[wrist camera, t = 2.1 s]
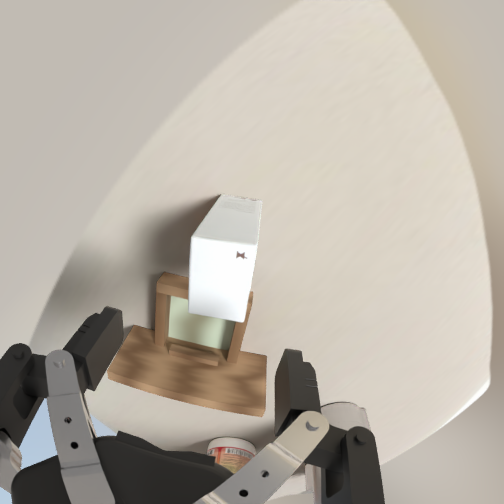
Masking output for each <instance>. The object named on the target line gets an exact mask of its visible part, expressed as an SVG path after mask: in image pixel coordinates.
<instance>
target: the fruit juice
mask: <svg viewBox="0 0 504 504" xmlns="http://www.w3.org/2000/svg"><path fill="white" fill-rule="evenodd" d="M207 455H210V456H215V457H216V459H215V463H218V464H220V465H222V466H224V467H226V468H227V469H229V470H230V471H231V472H232V473H234V474H235V473H236V472H237V471H238V470H240V469H241V468H242V467H243V466H244V465H245V464H247V463H248V462H249V461H250V460H251V459H252V458H253V457H255V456H256V450H255V447H254V445H253V444H251V443H250V442H248V441H245V440H243V439H239V438H231V437H223V438H217V439H214V440H212V441H211V442H210V443H209V446H208V449H207Z"/></svg>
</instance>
